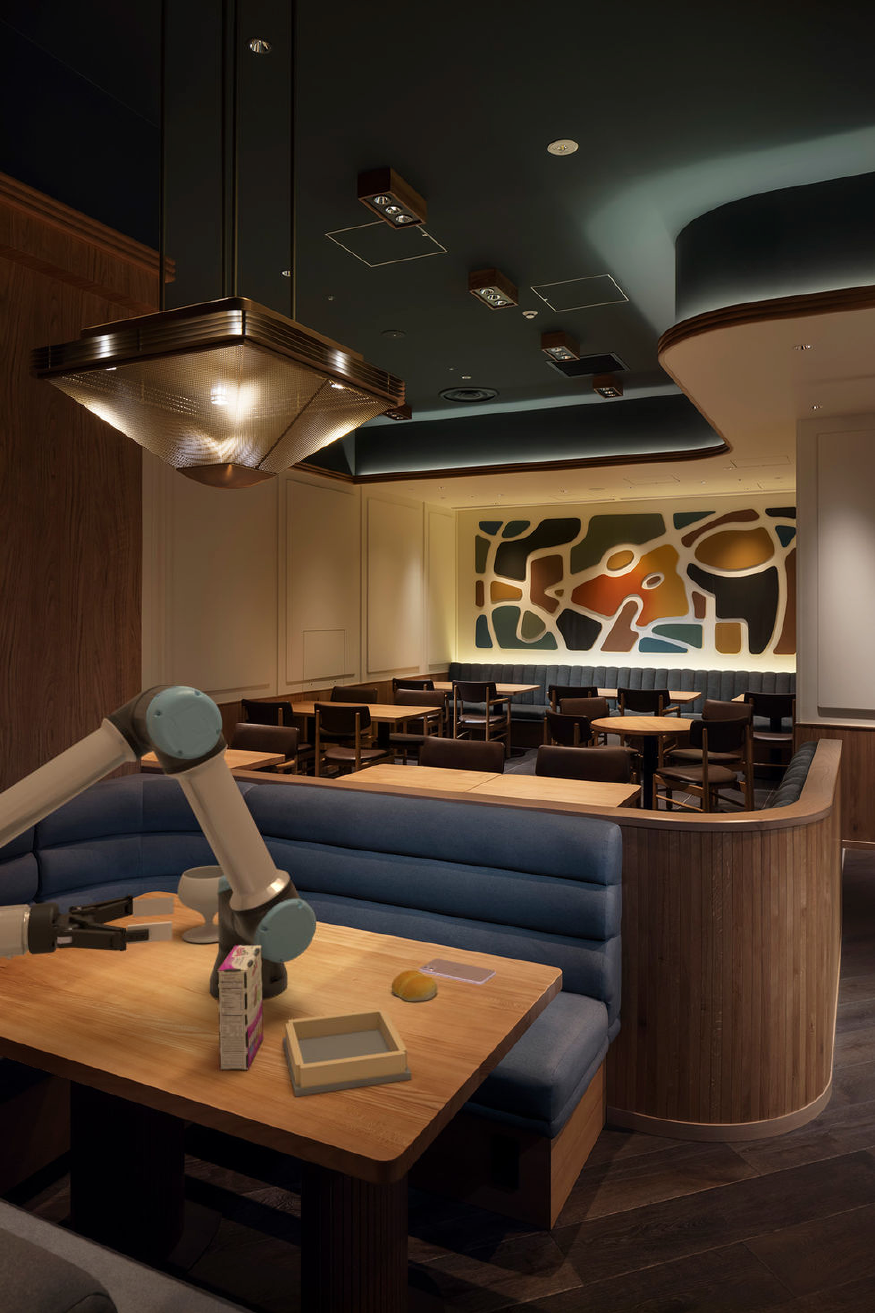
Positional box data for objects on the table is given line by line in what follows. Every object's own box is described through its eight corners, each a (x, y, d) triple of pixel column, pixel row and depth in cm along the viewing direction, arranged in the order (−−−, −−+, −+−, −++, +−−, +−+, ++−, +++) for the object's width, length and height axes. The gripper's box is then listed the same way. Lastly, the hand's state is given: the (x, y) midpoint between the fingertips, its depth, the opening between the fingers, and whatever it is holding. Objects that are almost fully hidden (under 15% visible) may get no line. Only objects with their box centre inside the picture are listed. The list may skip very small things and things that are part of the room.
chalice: (251, 934, 200) (251, 871, 200) (200, 950, 190) (199, 883, 190) (217, 922, 209) (216, 861, 209) (166, 936, 199) (165, 872, 199)
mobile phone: (481, 982, 170) (417, 968, 177) (481, 987, 170) (417, 972, 177) (498, 969, 176) (435, 956, 184) (498, 974, 176) (435, 961, 184)
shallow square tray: (282, 1043, 145) (282, 1019, 145) (385, 1029, 150) (385, 1007, 150) (295, 1096, 128) (295, 1070, 128) (411, 1079, 133) (411, 1053, 133)
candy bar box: (234, 1039, 147) (234, 944, 147) (263, 1039, 147) (263, 944, 146) (217, 1071, 136) (216, 968, 135) (248, 1071, 135) (247, 968, 135)
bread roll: (414, 1007, 160) (413, 986, 160) (385, 992, 167) (384, 972, 167) (446, 995, 165) (446, 974, 165) (417, 981, 172) (417, 961, 172)
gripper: (43, 928, 144) (174, 917, 150) (13, 983, 120) (171, 968, 126) (42, 884, 144) (174, 874, 150) (13, 930, 120) (171, 917, 126)
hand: (173, 917), depth 138 cm, fingers open, 13 cm apart
